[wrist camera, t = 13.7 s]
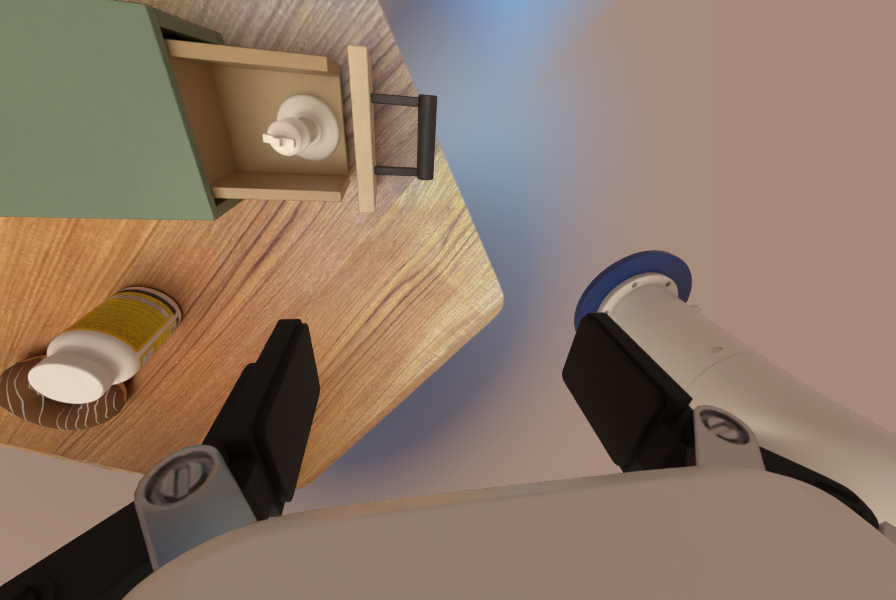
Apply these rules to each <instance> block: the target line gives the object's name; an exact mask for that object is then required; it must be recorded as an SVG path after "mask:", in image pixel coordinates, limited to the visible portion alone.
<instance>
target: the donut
mask: <svg viewBox="0 0 896 600" xmlns="http://www.w3.org/2000/svg"><path fill="white" fill-rule="evenodd" d="M46 357H47V355H42V356H36V357H32V358H29V359H26V360H23V361H21V362H17V363H16V364H14V365H13V366H12V367H10V368H9V369H7V370H5V371H4V372H3V374H2V375H1V376H0V406H2V407H3V408H5V409H6V410H8V411H9V412H11V413H12V414H14V415H15V416H18V417H20V418H22V419H24V420H26V421H28V422H32V423H35V424H38V425H41V426H46V427H50V428H55V429H60V430H83V429H85V428H91V427H93V426H96V425H99V424H101V423H104V422H106V421H108V420H110V419H111V418H113V417H114V416H116V415H117V414H118V413H119V412H120V411H121V409H122V408H123V406H124V404H125V402H126V398H127V391H126V387H125V385H124V383H123V382H121V383H118V384H114V385H112V386H111V387H110V388H109V389H108V390H107V391H106V392H105V393H104V394H103V395H102V396H101V397H100V398H99V399H97V400H95V401H93V402H89V403H82V404H72V403H65V402H60V401H56V400H53V399H51V398H48V397H46V396H44V395H42V394H41V393H39V392H38V391H36V390H35V389H34V388H33V387H32V386H31V385H30V383H29V381H28V373H29V371H30V370H31V369H32V368H33V367H34V366H36V365H37V364H38V363H39V362H41V361H42V360H43V359H44V358H46Z"/></svg>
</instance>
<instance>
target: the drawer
mask: <svg viewBox="0 0 896 600" xmlns="http://www.w3.org/2000/svg"><path fill="white" fill-rule="evenodd" d="M164 42H165V45H166V48H167V52H168V55H169V58H170V61H171V64H172V68H173V71H174V74H175V77H176V80H177V83H178V87H179V90H180V93H181V96H182V99H183V103H184V106H185V109H186V112H187V115H188V119H189V122H190V125H191V128H192V131H193V135H194V138H195V141H196V144H197V147H198V151H199V154H200V157H201V160H202V163H203V166H204V170H205V173H206V176H207V179H208V182H209V186H210V189H211V192H212V195H213V198H227V199H261V200H295V201H328V202H341V201H342V199H343V197H344V194H345V192H346V190H347V187H348V185H349V182H350V180H349V168H348V157H347V145H346V133H345V122H344V110H343V99H342V87H341V76H340V66H339V65H337V64H336V63H335V62H333V61H332V60H330V59H329V58H327V57H326V56H318V55H308V54H299V53H290V52H281V51H271V50H262V49H253V48H244V47H234V46H225V45H216V44H207V43H198V42H188V41H179V40H170V39H164ZM347 50H348V64H349V77H350V91H351V104H352V118H353V131H354V145H355V158H356V172H357V185H358V198H359V211H360V212H375V206H376V195H377V178H376V175H398V176H417V178H418V179H420V180H432V179H433V173H434V152H435V131H436V109H437V96H433V95H422V94H419V98H418V97H408V96H397V95H386V94H375V93H373V85H372V62H371V57H370V55H369V52H368V49H367V47H366V46H357V45H347ZM302 93H303V94H310V95H313V96H316V97H318V98H320V99H321V100H323V101H324V102H325V103H327V104H328V105H329V106H330V108H331V109H332V110H333V112H334V113H335V115H336V117H337V119H338V122H339V125H340V130H341V137H340V142H339V145H338V147H337V149H336V151H335V152H334V153H333V154H332V155H331V156H329V157H328V158H325V159H322V160H307V159H304V158H301V157H299V156H298V155H296V154H295V155H292V156H285V155H282V154H280V153H278V152H277V151H275V150H274V149H273V147H272V146H271V145H270V143H265V142H263V135H262V134H267V131H268V128H269V126H270V125H271V124H272V123H273V122H275V121H277V114H278V110H279V108H280V106H281V104H282V103H283V102H284V101H285V100H286V99H287V98H289V97H290V96H292V95H295V94H302ZM373 103H379V104H391V105H403V106H414V107H418V146H417V168H411V167H392V166H376V155H375V131H374V108H373Z"/></svg>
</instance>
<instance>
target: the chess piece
mask: <svg viewBox="0 0 896 600" xmlns="http://www.w3.org/2000/svg"><path fill="white" fill-rule="evenodd" d="M262 135H263V142H265V143H270V145H271V146H272V147H273V149H274V150H275V151H277V152H278V153H280V154H282V155H285V156H292V155H295V154H296V155H298V156H299V157H301V158H304V159H307V160H322V159H325V158H328V157H329V156H331V155H332V154H333V153H334V152H335V151H336V149H337V147H338V145H339V142H340V137H341V130H340V125H339V122H338V119H337V117H336V115H335V113H334V112H333V110H332V109H331V108H330V106H329V105H328V104H327V103H325V102H324V101H323V100H321V99H320V98H318V97H316V96H313V95H310V94H303V93H302V94H295V95H292V96H290V97H289V98H287V99H286V100H285V101H284V102H283V103H282V104H281V106H280V108H279V110H278V114H277V121H275V122H273V123H272V124H271V125H270V126H269V128H268V131H267V134H262Z"/></svg>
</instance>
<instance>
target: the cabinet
mask: <svg viewBox="0 0 896 600" xmlns="http://www.w3.org/2000/svg"><path fill="white" fill-rule="evenodd" d="M164 39H170V40H179V41H188V42H198V43H207V44H216V45H223V43H222V38H221V34H220V33H217V32H214V31H212V30H209V29H207V28H204V27H202V26H199V25H196V24H194V23H191V22H189V21H186V20H184V19H181V18H179V17H176V16H173V15H171V14H168V13H166V12H163V11H161V10H158V9H156V8H153V7H151V6H148V5H145V4H140V3H132V2H124V1H116V0H0V217H49V218H103V219H158V220H213V221H214V220H216V219H218V218H219V217H220V216H222V215H223V214H224V213H226V212H227V211H229V210H230V209H231V208H233V207H234V206H236V205H237V204H238V203H240V202H241V201H243V200H244V199H227V198H213V195H212V192H211V189H210V186H209V182H208V179H207V176H206V173H205V170H204V166H203V163H202V160H201V157H200V154H199V151H198V147H197V144H196V141H195V138H194V135H193V131H192V128H191V125H190V122H189V119H188V115H187V112H186V109H185V106H184V103H183V99H182V96H181V93H180V90H179V87H178V83H177V80H176V77H175V74H174V71H173V68H172V64H171V61H170V58H169V55H168V52H167V48H166V45H165V42H164Z"/></svg>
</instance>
